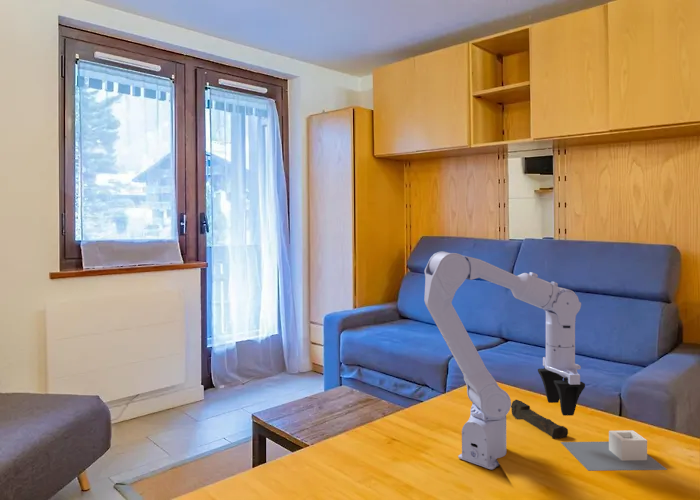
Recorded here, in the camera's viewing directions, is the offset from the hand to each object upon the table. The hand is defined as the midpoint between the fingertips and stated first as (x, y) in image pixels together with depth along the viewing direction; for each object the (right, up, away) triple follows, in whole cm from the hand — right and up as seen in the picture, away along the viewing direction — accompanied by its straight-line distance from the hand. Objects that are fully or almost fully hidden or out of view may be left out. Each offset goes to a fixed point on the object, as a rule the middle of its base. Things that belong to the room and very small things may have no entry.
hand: (560, 408), depth 107 cm
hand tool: (-1, -9, +14) cm, 17 cm away
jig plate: (+9, -9, -4) cm, 13 cm away
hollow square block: (+12, -8, -4) cm, 15 cm away
